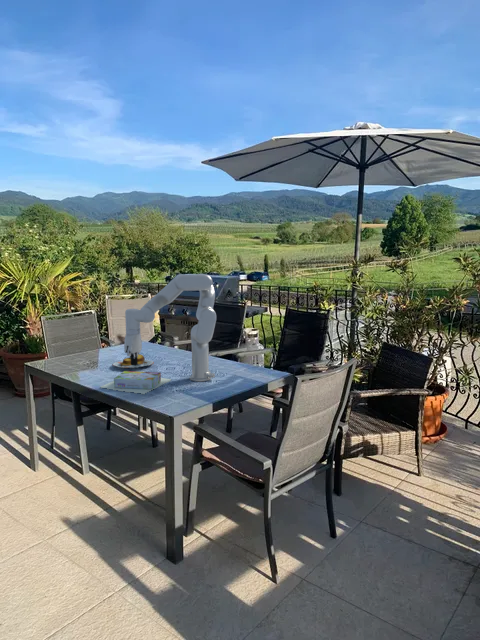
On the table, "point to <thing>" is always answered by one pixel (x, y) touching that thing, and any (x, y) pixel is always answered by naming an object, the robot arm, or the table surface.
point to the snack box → (137, 380)
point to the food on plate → (127, 364)
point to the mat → (135, 390)
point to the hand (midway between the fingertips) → (134, 364)
